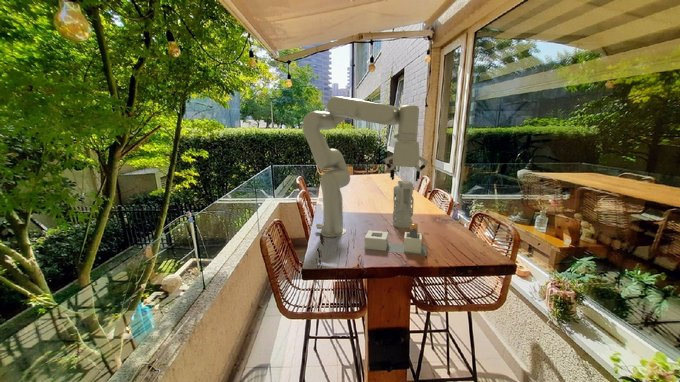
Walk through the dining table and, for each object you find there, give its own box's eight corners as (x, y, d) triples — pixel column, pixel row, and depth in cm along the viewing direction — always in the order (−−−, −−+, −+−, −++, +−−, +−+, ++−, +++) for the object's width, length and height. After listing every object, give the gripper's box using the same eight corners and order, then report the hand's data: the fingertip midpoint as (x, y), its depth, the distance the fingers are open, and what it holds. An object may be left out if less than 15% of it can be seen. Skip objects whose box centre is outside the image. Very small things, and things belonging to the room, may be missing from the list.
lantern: (391, 222, 149) (392, 178, 144) (410, 222, 148) (411, 177, 143) (395, 230, 136) (396, 182, 131) (415, 230, 136) (417, 182, 130)
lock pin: (409, 250, 110) (410, 225, 108) (409, 247, 113) (410, 222, 111) (416, 250, 110) (417, 225, 107) (416, 247, 112) (417, 223, 110)
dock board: (361, 251, 113) (362, 235, 111) (366, 242, 122) (366, 227, 120) (426, 258, 105) (427, 241, 104) (425, 247, 115) (426, 232, 113)
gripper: (384, 137, 105) (382, 180, 109) (430, 138, 100) (426, 183, 104) (386, 137, 112) (384, 177, 116) (429, 138, 107) (426, 179, 111)
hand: (404, 180), depth 110 cm, fingers open, 9 cm apart
